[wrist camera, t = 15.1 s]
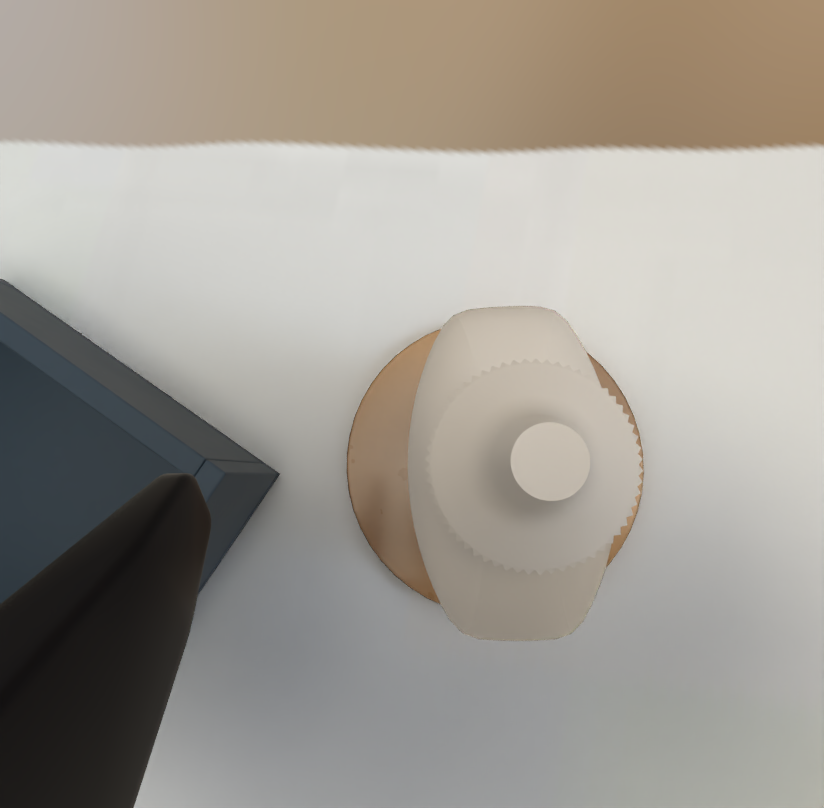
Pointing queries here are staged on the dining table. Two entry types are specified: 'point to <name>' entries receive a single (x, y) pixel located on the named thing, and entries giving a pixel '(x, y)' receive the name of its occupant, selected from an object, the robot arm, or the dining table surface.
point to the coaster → (388, 464)
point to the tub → (96, 445)
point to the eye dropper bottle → (517, 473)
